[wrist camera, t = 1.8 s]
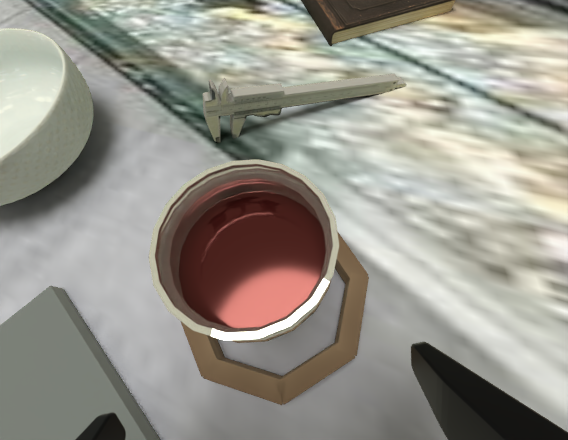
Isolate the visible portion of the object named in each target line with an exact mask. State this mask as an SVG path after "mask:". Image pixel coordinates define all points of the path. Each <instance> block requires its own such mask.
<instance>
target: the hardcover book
mask: <svg viewBox="0 0 568 440" xmlns="http://www.w3.org/2000/svg"><path fill="white" fill-rule="evenodd" d="M301 1H302V2H303V4H304V5H305V7H306V8H307V10H308V12H309V13H310V15H311V16H312V18H313V20H314V21H315V23H316V24H317V26H318V27H319V29H320V31H321V32H322V34H323V35H324V37H325V38H326V40H327V42H328V43H329V45H330V46H332V44H334V43H337V42H341V41H345V40H348V39H352V38H355V37H359V36H363V35H366V34H370V33H373V32H377V31H381V30H384V29H388V28H392V27H395V26H399V25H402V24H406V23H410V22H413V21H417V20H420V19H424V18H428V17H431V16H435V15H438V14H442V13H446V12H449V11H451V9H452V6H453V4H454V2H455V0H301Z"/></svg>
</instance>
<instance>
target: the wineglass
mask: <svg viewBox="0 0 568 440" xmlns="http://www.w3.org/2000/svg"><path fill="white" fill-rule="evenodd" d="M338 250H339V240H338V233H337V225H336V218H335V216H334V214H333V212H332V210H331V208H330V206H329V204H328V202H327V200H326V198H325V196H324V194H323V193H322V192H321V191H320V190H319V189H318V188H317V187H316V186H315V185H314V184H313V183H312V182H311V181H310V180H309V179H308V178H307V177H306V176H304V175H302V174H300V173H298V172H296V171H295V170H293V169H291V168H289V167H287V166H285V165H283V164H278V163H273V162H268V161H263V160H258V159H256V160H242V161H231V162H228V163H225V164H222V165H219V166H216V167H213V168H210V169H207V170H205V171H204V172H202V173H201V174H199V175H198V176H196V177H195V178H193V179H191V180H190V181H188V182H187V183H185V184H184V185H183V186H182V187H181V188H180V189H179V190H178V192H177V193H176V194H175V195H174V196H173V197H172V198H171V199H170V200H169V201H168V203H167V204H166V205H165V207H164V209H163V211H162V213H161V215H160V217H159V219H158V221H157V223H156V225H155V227H154V229H153V234H152V240H151V246H150V252H149V262H150V268H151V274H152V279H153V285H154V287H155V289H156V291H157V292H158V294H159V296H160V297H161V299H162V301H163V303H164V304H165V306H166V308H167V310H168V311H169V312H170V313H171V314H173V315H174V316H175V317H176V318H178V319H179V320H180V321H181V322H183V323H184V324H185V325H186V326H188V327H189V328H190V329H191V330H193V331H196V332H199V333H202V334H205V335H209V336H212V337H215V338H218V339H221V340H230V341H233V342H237V343H244V342H265V341H269V340H271V339H274V338H276V337H278V336H281V335H283V334H286V333H288V332H291V331H293V330H294V329H296V328H297V327H298V326H299V325H300V324H301V323H303V322H304V321H305V320H306V319H307V318H308V317H309V316H311V315H312V314H313V313H314V312H315V311H316V309H317V308H318V306H319V304H320V302H321V301H322V299H323V297H324V296H325V294H326V292H327V291H328V289H329V286H330V281H331V278H332V277H333V274H334V269H335V264H336V259H337V254H338Z"/></svg>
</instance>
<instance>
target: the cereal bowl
mask: <svg viewBox="0 0 568 440" xmlns="http://www.w3.org/2000/svg"><path fill="white" fill-rule="evenodd" d="M93 115H94V113H93V101H92V98H91V93H90V91H89V87H88V86H87V84H86V81H85V79H84V78H83V76H82V74H81V72H80V71H79V70H78V68H77V67H76V65H75V64H74V63H73V62H72V60H71V59H70V57H69V56H68V55H67V54H66V53H65V52H64V50H63V49H62V48H61V47H60V46H59V45H58V44H57V43H56V42H55V41H53V40H52V39H51V38H49V37H47V36H46V35H44V34H41V33H39V32H36V31H32V30H26V29H15V28H9V29H0V206H2V205H4V204H9V203H12V202H14V201H17V200H20V199H23V198H25V197H27V196H29V195H31V194H34V193H36V192H37V191H39V190H41V189H42V188H44V187H45V186H47V185H48V184H50V183H51V182H52V181H54V180H55V179H56V178H58V177H59V176H60V175H61V174H63V173H64V171H66V170H67V168H69V167H70V165H72V164H73V162H74V161H75V160H76V158H77V157H78V156H79V154H80V153H81V151H82V150H83V148H84V146H85V144H86V143H87V140H88V137H89V136H90V131H91V129H92V122H93Z"/></svg>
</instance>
